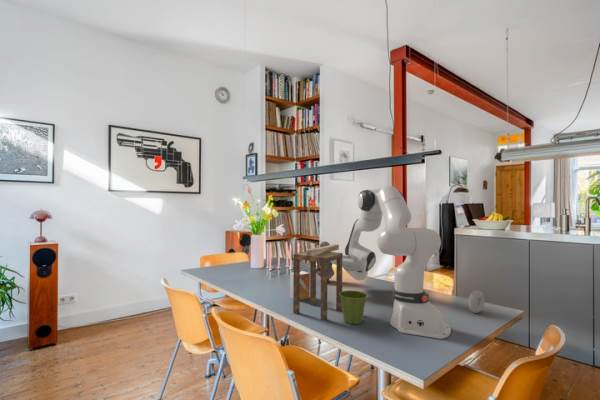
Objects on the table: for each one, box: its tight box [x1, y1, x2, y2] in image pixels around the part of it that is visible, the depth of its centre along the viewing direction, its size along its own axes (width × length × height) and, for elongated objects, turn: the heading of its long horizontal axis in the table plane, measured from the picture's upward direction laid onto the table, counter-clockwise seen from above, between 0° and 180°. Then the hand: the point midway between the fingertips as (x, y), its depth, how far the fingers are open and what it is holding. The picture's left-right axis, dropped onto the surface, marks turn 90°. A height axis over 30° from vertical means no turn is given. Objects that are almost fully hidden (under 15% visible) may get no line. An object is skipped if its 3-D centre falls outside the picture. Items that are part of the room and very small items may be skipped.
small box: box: [289, 270, 310, 301], centre depth 164 cm, size 8×6×13 cm
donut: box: [467, 290, 485, 314], centre depth 145 cm, size 10×4×10 cm, turn 124°
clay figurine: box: [316, 241, 335, 283], centre depth 198 cm, size 13×10×25 cm
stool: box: [292, 250, 344, 322], centre depth 144 cm, size 16×16×26 cm
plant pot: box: [339, 290, 369, 325], centre depth 133 cm, size 12×12×11 cm
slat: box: [306, 243, 340, 256], centre depth 149 cm, size 3×24×2 cm, turn 146°
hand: (341, 254), depth 163 cm, fingers open, 8 cm apart
